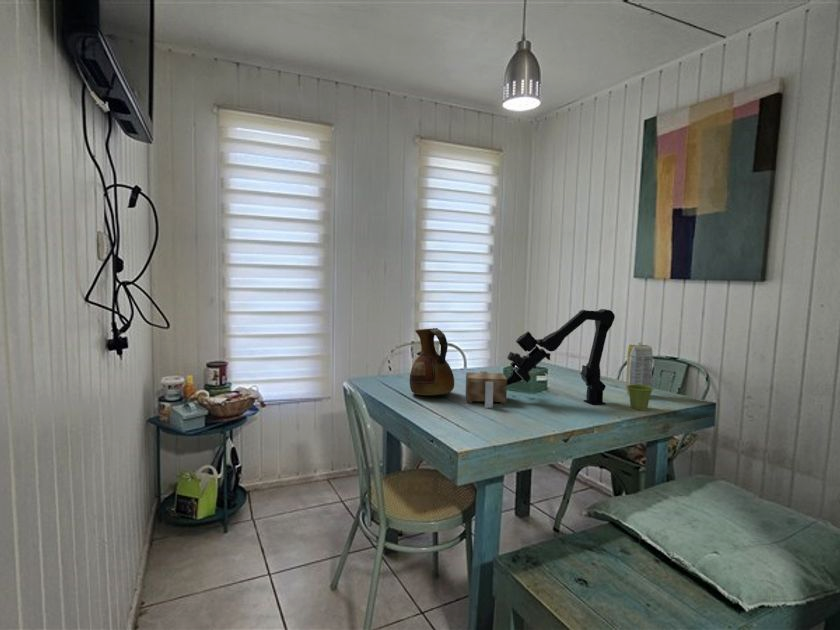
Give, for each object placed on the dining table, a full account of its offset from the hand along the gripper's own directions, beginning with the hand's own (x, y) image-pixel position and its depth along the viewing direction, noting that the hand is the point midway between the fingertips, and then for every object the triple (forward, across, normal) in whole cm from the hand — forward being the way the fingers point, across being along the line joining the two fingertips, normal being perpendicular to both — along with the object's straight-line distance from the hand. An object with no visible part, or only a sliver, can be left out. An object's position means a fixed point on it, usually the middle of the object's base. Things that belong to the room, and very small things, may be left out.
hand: (505, 384), depth 197 cm
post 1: (+10, -11, -1) cm, 15 cm away
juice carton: (-38, -14, +48) cm, 63 cm away
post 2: (+10, +11, -1) cm, 15 cm away
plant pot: (-33, +7, +42) cm, 54 cm away
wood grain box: (+11, 0, -1) cm, 11 cm away
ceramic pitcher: (+27, -7, -17) cm, 33 cm away
